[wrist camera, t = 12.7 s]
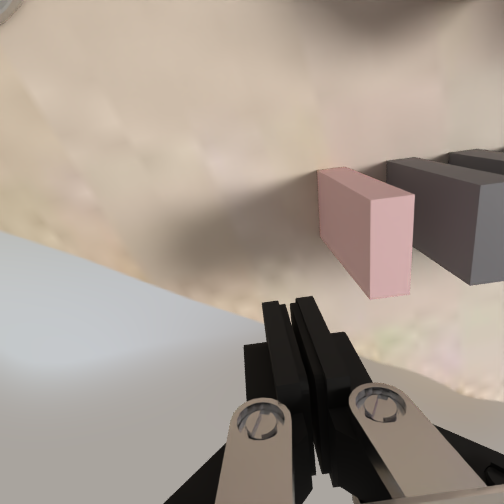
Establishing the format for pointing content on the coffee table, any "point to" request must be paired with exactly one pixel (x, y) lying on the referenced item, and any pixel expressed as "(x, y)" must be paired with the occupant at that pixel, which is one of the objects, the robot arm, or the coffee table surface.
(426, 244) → the domino
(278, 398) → the robot arm
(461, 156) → the domino
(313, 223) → the coffee table surface
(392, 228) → the rose domino
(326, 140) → the coffee table surface
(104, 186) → the coffee table surface
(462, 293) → the coffee table surface
